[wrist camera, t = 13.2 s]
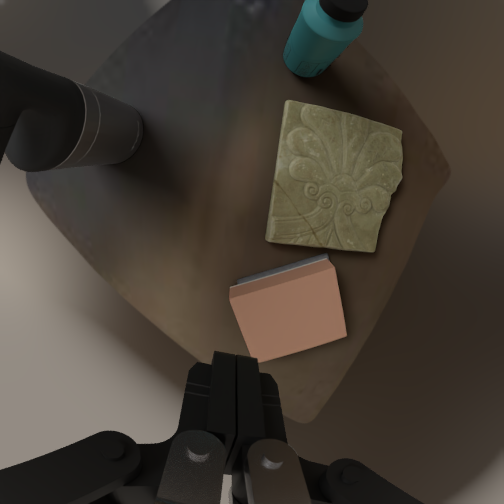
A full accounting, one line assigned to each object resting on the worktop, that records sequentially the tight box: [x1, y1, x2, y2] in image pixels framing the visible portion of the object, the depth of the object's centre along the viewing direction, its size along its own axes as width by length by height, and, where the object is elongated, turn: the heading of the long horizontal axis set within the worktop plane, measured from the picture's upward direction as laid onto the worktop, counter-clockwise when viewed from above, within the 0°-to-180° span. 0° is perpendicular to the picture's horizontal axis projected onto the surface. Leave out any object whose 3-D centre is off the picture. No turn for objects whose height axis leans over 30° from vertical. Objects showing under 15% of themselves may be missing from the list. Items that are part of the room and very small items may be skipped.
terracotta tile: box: [229, 258, 347, 363], centre depth 43 cm, size 4×12×15 cm
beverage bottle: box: [282, 0, 368, 78], centre depth 25 cm, size 6×7×20 cm
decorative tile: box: [265, 100, 403, 252], centre depth 39 cm, size 19×20×4 cm
